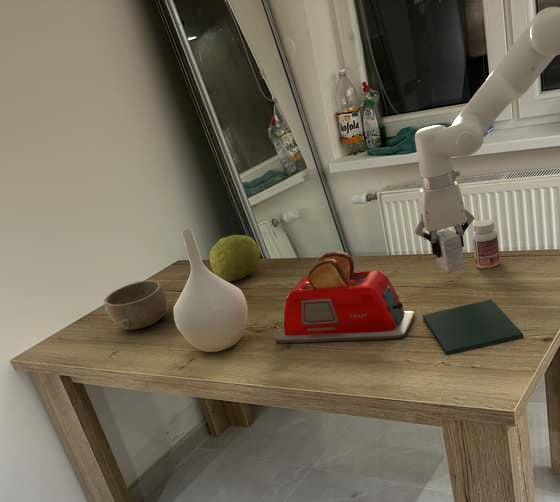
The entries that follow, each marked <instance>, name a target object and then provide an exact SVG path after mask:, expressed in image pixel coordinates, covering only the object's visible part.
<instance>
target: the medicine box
mask: <svg viewBox="0 0 560 502" xmlns="http://www.w3.org/2000/svg"><path fill="white" fill-rule="evenodd" d="M436 239H437V242H438V243H439V248H440V255H441V257H440V258H437V257H436V256H435V261H436V265H437V266H439V267H440V268H441V269H442V270H444V271H446V272H447V273H448V274H452V273H455V272H457V271H461V270H464V269H465V268H466V265H465V259H464V252H462V250H463V247H462V245H461V239H460V236H459V235H458V234H456V232H454V231H453V230H450V229H449V228H445V229H441V230H437V238H436Z"/></svg>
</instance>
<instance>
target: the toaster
mask: <svg viewBox="0 0 560 502" xmlns="http://www.w3.org/2000/svg"><path fill="white" fill-rule="evenodd" d="M403 307H404V304H403V303H402V302H401V301H400V299H399V296H398V294H397V291H396V289H395V288H394V286H393V284H392V282H391V281H390V279H389V277H388V276H387V275H386V274H385V273H383V272H382V271H381V270H364V271H355V261H354V258H353V257H352V256H351V255H350V254H348V253H346V252H344V251H330V252H326V253H324V254H323V255H321V256H320V257H319V259H318V262H316V264H315V265H313V267H312V268H311V269H310V270H309V273H308V275H307V276H303V277H302V278H301V279H300V280H299V281H298V282H297V284H295V286H294V287H293V288H292V290H291V291H290V292H289V293H288V295H287V296H286V297H285V303H284V310H283V311H284V312H283V327H282V329H281V331H280V332H279V333H278V334H277V335H276V336H275V337H274V338H275V339H274V340H275V342H277V343H279V344H298V343H299V344H300V343H303V344H304V343H328V342H329V343H330V342H355V341H356V342H357V341H381V340H383V341H384V340H399V339H402V338H403V339H404V337H405V336H406V335H407V333H408V331H409V329H410V326H411V325H412V322H413V321H414V319H415V316H416V312H415V311H412V310H404V308H403Z"/></svg>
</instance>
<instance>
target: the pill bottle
mask: <svg viewBox="0 0 560 502" xmlns="http://www.w3.org/2000/svg"><path fill="white" fill-rule="evenodd" d="M495 228H496V227H495V221H494V220H492V219H481V220H477V221H475V222H474V223H473V224H472V230H473V232H474V233H473V234H472V247H473V255H474V264H475V267H477V268H479V269H490V268H494V267H496V266H498V265H499V264H500V261H501V260H500V250H499V238H498V232H497V231H496V230H495Z"/></svg>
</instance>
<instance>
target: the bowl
mask: <svg viewBox="0 0 560 502" xmlns="http://www.w3.org/2000/svg"><path fill="white" fill-rule="evenodd" d="M103 305H104V308H105V311H106V312H107V315H108V316H109V317H110V319H111V321H112V322H113V323H114V324H115V325H116V326H118V328H121V329H123V330H127V331H132V330H139V329H144V328H147V327H150V326H152V325H154V324H155V323H157V322H158V321H159V320H161V318H162V317H163V316H164V315H165V313H166V312H167V297H166V292H165V290H164V288H163V286H162V284H161V283H160V282H159V281H156V280H140V281H136V282H133V283H129V284H126V285H124V286H121V287H119V288H117V289H115V290H113V291H112V292H110V293H109V294H108V295H106V296H105V298H104V299H103Z"/></svg>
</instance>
